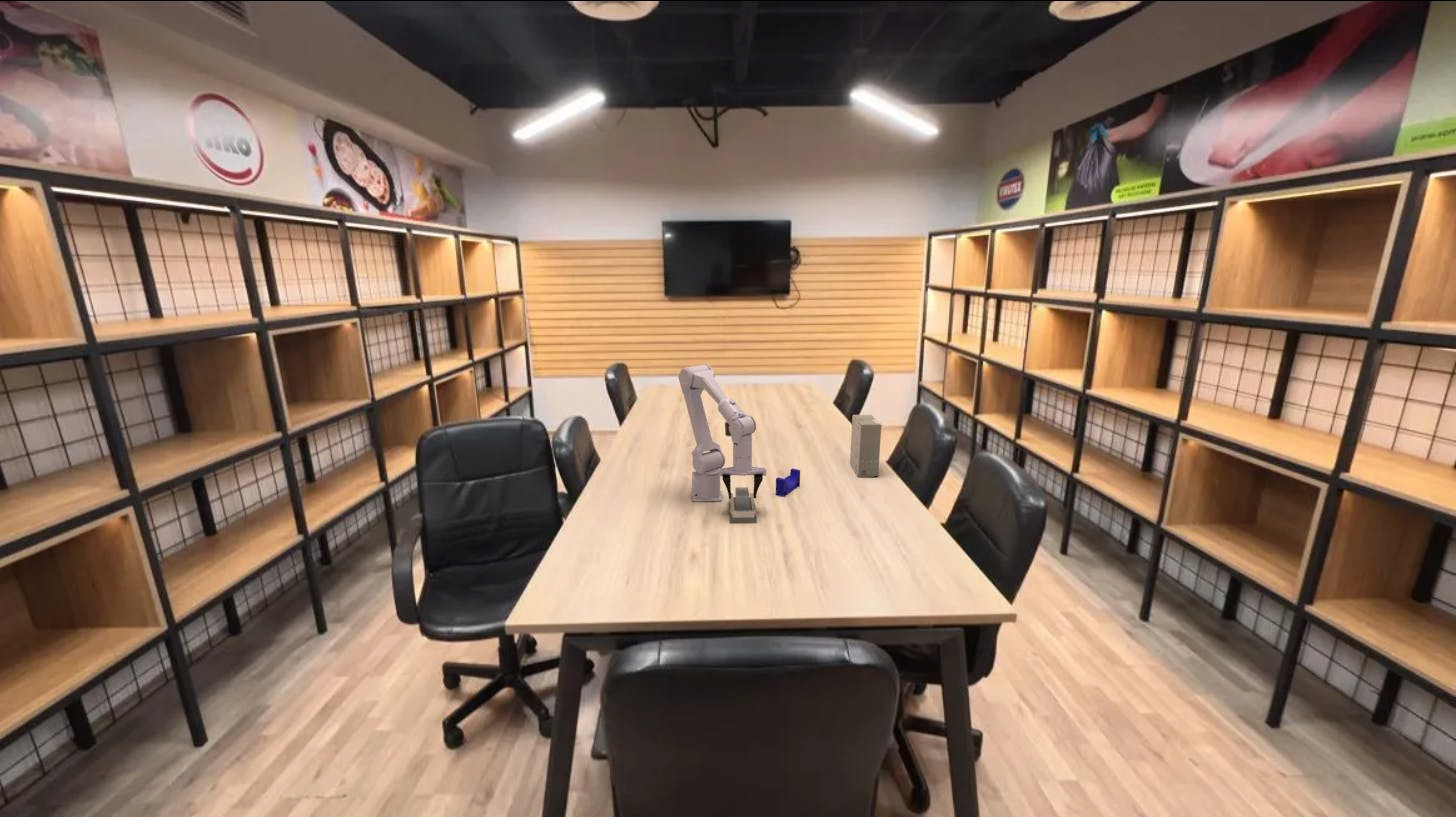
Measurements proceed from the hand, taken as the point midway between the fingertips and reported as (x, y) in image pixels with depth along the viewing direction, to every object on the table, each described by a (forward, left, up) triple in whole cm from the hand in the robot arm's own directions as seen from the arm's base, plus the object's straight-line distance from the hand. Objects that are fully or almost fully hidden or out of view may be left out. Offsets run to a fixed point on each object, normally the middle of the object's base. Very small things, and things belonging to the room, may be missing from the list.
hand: (742, 497), depth 173 cm
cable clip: (+16, +18, -5) cm, 24 cm away
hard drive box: (+47, +36, -5) cm, 60 cm away
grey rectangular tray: (0, 0, -5) cm, 5 cm away
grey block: (0, 0, -3) cm, 3 cm away
